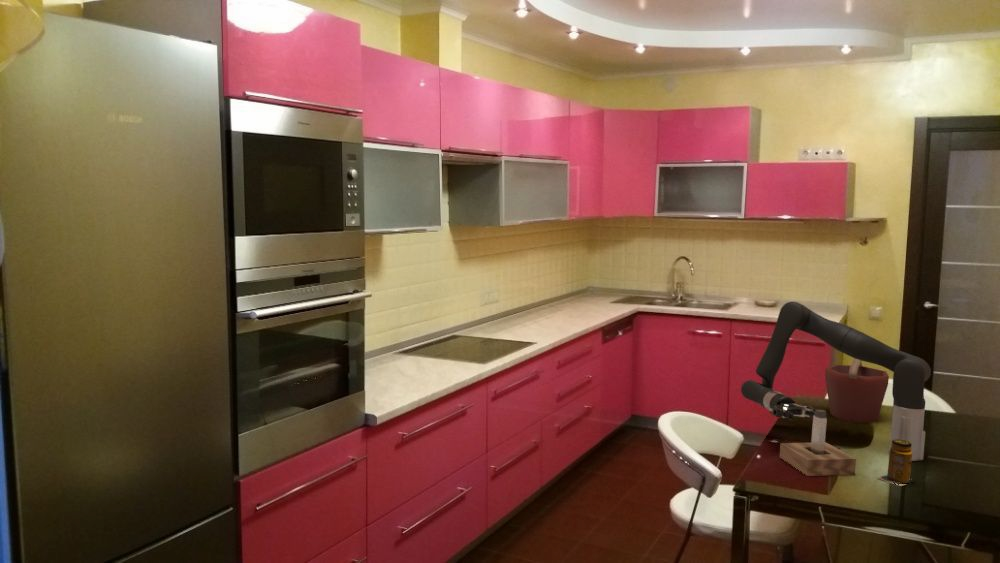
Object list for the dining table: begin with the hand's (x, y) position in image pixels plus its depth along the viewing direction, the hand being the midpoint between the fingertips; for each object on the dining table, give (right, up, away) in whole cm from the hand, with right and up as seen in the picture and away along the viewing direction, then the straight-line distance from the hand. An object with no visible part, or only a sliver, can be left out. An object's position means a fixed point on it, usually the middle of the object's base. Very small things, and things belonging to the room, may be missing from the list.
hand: (804, 417), depth 242 cm
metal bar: (+1, -14, -7) cm, 16 cm away
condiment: (+21, -16, -17) cm, 31 cm away
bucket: (+42, -10, +53) cm, 68 cm away
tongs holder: (+1, -14, -7) cm, 16 cm away
